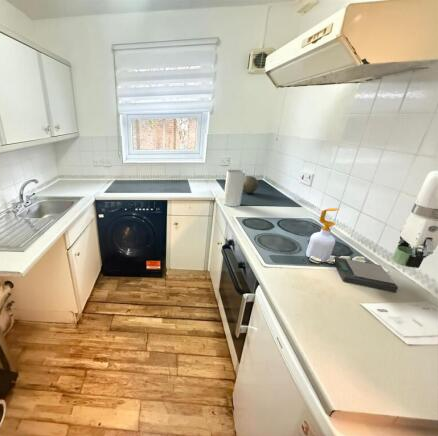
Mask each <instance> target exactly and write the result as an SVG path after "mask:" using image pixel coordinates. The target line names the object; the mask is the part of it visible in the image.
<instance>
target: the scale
mask: <svg viewBox="0 0 438 436" xmlns="http://www.w3.org/2000/svg"><path fill="white" fill-rule="evenodd" d="M334 259H335V263H334V262H333V264H334V266H335V268H336V271H337V273H338V275H339V276H340V279H341V280H342V282H343V283H348V284H352V285H357V286H360V287H361V286H362V287H366V288H371V289H376V290H381V291H386V292H389V293H395V294H396V293H397V292H398V289H399V286H398V285H397V284H396V282H395V281H394V280H393V279H392V278H391V276H390V275H389V273H387V271H386V270H385V269H384V267H383V266H382V265H381V264H377V263H371V262H366V261H359V260H356V259H355V260H354V259H349V258H343V257H338V256H334V257H333V260H334Z"/></svg>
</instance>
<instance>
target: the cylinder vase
mask: <svg viewBox="0 0 438 436" xmlns="http://www.w3.org/2000/svg"><path fill="white" fill-rule="evenodd" d="M245 177H246V171H245V170H242V169H227V170H226V177H225V185H224V192H223V199H222V204H223V205H224V206H227V207H233V208H234V207H239V206H241V203H242V198H243V185H244V178H245Z"/></svg>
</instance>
